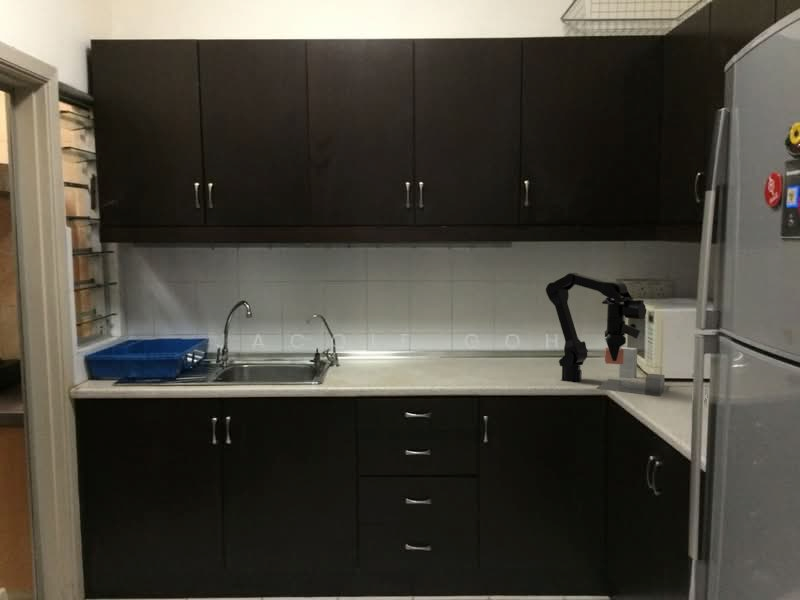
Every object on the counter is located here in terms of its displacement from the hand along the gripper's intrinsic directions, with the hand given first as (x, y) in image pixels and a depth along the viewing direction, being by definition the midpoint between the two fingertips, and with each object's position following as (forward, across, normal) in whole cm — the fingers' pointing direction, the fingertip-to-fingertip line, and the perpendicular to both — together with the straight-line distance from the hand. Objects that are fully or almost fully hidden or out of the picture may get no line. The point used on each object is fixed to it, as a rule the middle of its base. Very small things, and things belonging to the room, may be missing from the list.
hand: (614, 359), depth 232 cm
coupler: (+11, +3, -7) cm, 13 cm away
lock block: (+1, 0, 0) cm, 1 cm away
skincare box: (+11, +23, -7) cm, 26 cm away
